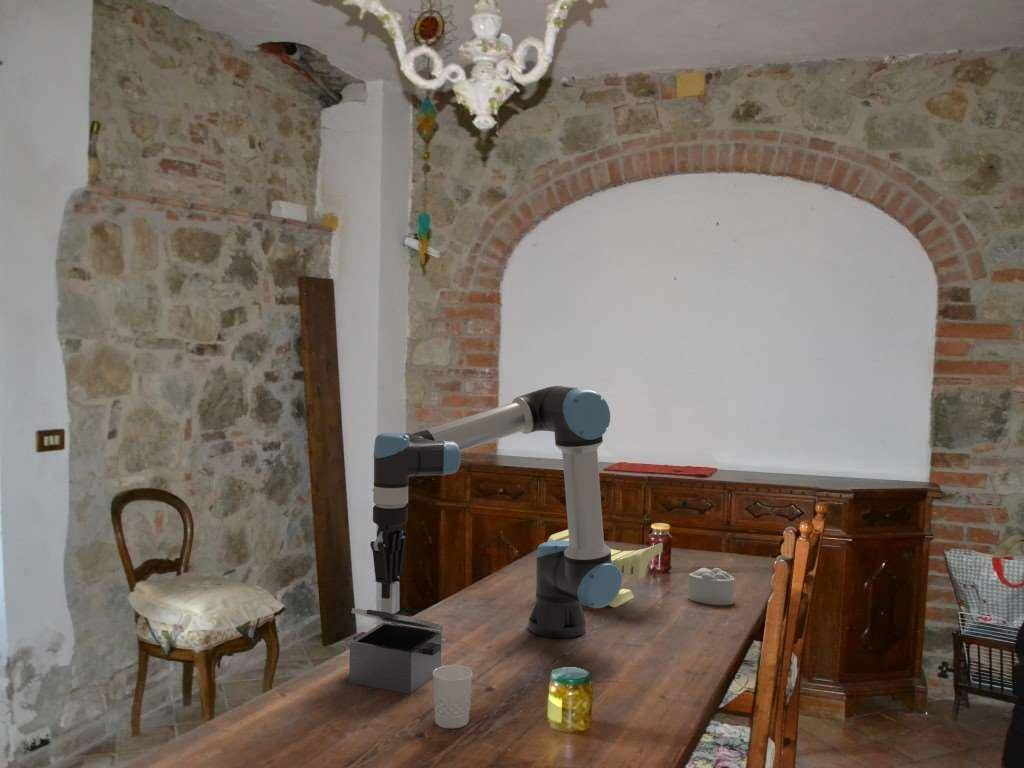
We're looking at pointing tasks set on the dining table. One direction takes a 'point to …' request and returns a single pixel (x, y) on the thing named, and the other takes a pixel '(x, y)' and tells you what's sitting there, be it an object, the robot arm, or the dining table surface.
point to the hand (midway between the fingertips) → (388, 611)
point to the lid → (396, 618)
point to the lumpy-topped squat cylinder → (711, 586)
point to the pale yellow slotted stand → (623, 564)
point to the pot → (394, 657)
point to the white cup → (452, 695)
